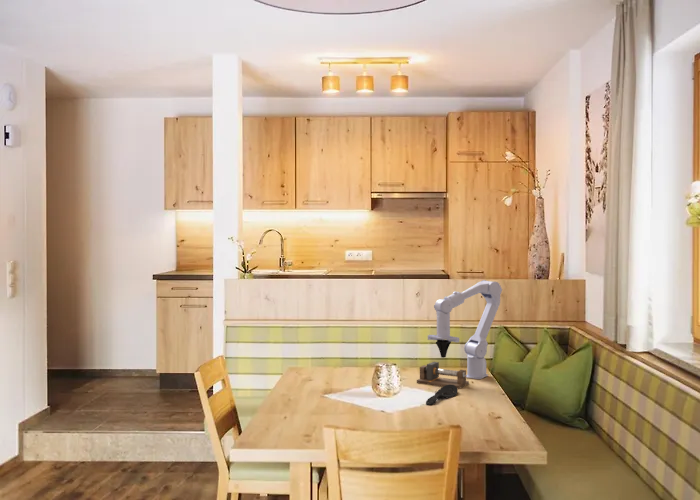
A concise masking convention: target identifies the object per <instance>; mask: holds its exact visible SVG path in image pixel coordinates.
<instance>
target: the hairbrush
mask: <svg viewBox="0 0 700 500" xmlns="http://www.w3.org/2000/svg"><path fill="white" fill-rule="evenodd" d="M452 384H453V383H452ZM458 390H459V389H457V387H456V385H450V384H449V385H446V386H444V387H443V386H441V387H440V388H438V389H437V390H436V391H435V392H434V395H432V396H430V397H428V398H427V400H426V401H425V405H426V406H434V405H435V403H436V402H437V401H438V399H439V398H440V399H451V398H455V397H456V396H457V395H458V392H459V391H458Z"/></svg>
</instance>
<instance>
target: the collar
mask: <svg viewBox="0 0 700 500" xmlns="http://www.w3.org/2000/svg"><path fill="white" fill-rule="evenodd" d="M426 365H427V380H433V379H436V378H438V377H440V374H433V368H437V369H440V367H439V366H440V362H439V361H432V362H429V363H427V364H426Z"/></svg>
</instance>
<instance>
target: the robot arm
mask: <svg viewBox="0 0 700 500" xmlns="http://www.w3.org/2000/svg"><path fill="white" fill-rule="evenodd" d="M502 292H503V288H502V286H501V285H500V283H499V282H498V281H492V280H491V281H490V280H486V279H483V280H481V281H478V282H476V284H474V285H472V286H470V287H469V288H466V289H465V290H464V291H453V292H452V293H451V294H449V295H448V296H444V298H443V299H442V298H439V299H437V300H436V301H435V303H434V305H433V308H434V310H435V311H436V313H435V315H436V334H427V340H428V341H436V342H435V344H436V346H437V347H438V348H437V349H438V350H439V354H440V358H442V359H444V358H445V359H446V357H447V353H448V350H449V347H450V345H451V343H452V342H453V343H460V337H458V336H452V335H451V322H450V321H451V312H452V310H453V309H454V308H456V307H458V306H460V305H462V304H464V303H465V301H466V299H469V298H471V297H473V296H475V295H478V294H481V296H482V297H483V298H484V299H485V301H486V304H485V307H484V310H483V313H482V315H481V317H480V320H479V322H478V324H477V327H476V329H475V332H474V334H473V335H471V336H470V337H469V339H468V341H467V342H466V343H465V344H464V347H463V350H464V353H465V355H466V357H467V358H466V359H467V360H466V361H467V365H466V366H467V370H466V379H467V378H468V379H476V380H482V379H484V378H485V377H488V376H489V374H488V373H487V360H486V358H485V356H486V355H487V350H488V348H487V347H488V345H489V344H488V341H487V337H488V334H489V332H490V329H491V327H492V324H493V322H494V320H495V318H496V316H497V315H496V314H497V312H498V310H499V307H500V304H501V294H502Z"/></svg>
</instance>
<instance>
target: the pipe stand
mask: <svg viewBox="0 0 700 500" xmlns="http://www.w3.org/2000/svg"><path fill="white" fill-rule="evenodd" d="M433 374H439V377H438V378H436V379H433V380H427V364H426V365H425V364H424V365H421V366H419V378H418V379H416V384H423V385H430V386H435V387H436V386H437V387H444V386H446V385H449V384H450V385H456V387H457V390H459V389H461V388H463V387H466V386H468V385H470V382H469V380H467V378H466V375H467V370H466V369H460V370H451V369H443V368H439V369H437V368H433ZM440 375H442V376H450V377H456V378H457V379H454V378H446V377H440ZM452 383H453V384H452Z"/></svg>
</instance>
